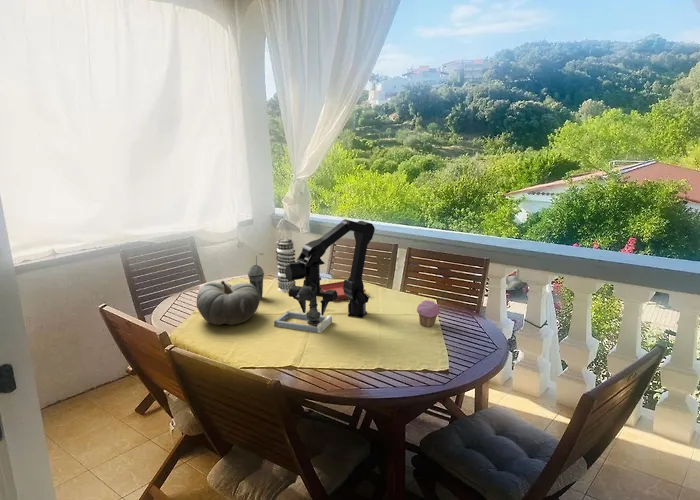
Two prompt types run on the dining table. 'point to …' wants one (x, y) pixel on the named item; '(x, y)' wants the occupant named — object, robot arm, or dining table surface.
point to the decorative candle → (284, 262)
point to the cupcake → (428, 313)
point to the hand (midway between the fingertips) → (313, 314)
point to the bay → (318, 329)
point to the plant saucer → (337, 287)
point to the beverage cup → (256, 278)
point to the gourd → (227, 302)
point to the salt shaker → (313, 313)
